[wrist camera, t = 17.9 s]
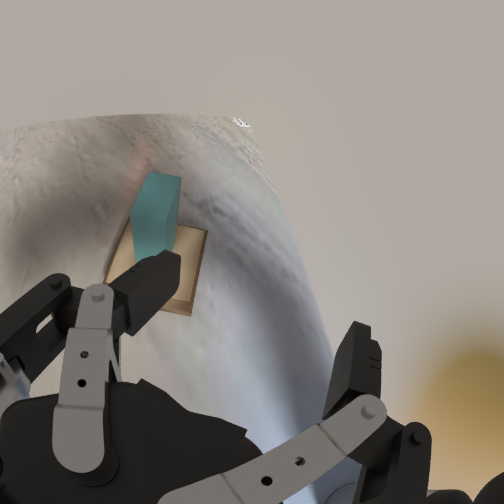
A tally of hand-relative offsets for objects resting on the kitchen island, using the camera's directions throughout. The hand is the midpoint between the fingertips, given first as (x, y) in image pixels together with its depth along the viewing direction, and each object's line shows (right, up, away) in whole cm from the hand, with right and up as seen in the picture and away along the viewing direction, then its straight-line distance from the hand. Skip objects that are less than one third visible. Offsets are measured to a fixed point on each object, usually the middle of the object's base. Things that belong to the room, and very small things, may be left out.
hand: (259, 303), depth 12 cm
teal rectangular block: (-14, +2, +27) cm, 31 cm away
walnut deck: (-15, -1, +31) cm, 34 cm away
